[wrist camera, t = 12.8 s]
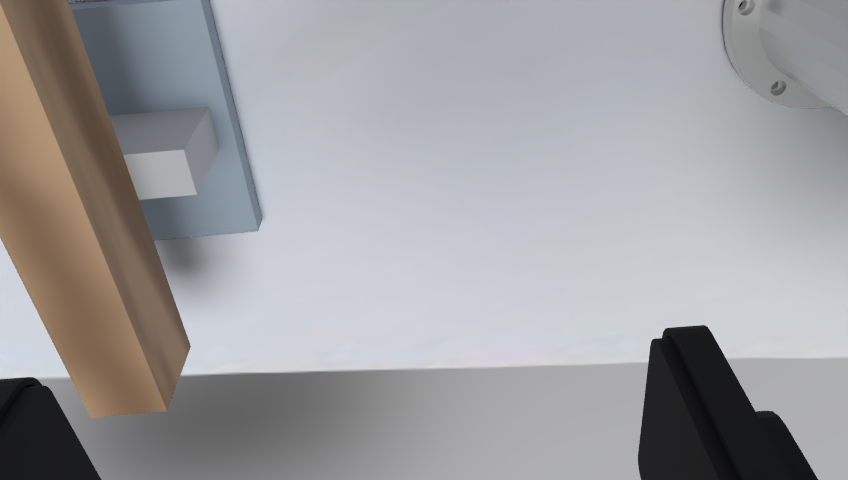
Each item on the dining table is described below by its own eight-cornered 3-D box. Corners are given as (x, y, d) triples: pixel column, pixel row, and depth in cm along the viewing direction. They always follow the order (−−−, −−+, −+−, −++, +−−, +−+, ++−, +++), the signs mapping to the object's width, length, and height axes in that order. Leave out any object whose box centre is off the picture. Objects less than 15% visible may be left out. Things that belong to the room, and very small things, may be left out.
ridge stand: (206, -9, 35) (170, 27, 29) (261, 218, 43) (242, 284, 37) (-21, 11, 35) (-103, 52, 29) (75, 235, 43) (25, 303, 37)
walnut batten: (46, -60, 27) (-16, -36, 23) (190, 346, 39) (167, 411, 35) (-52, -51, 27) (-132, -26, 23) (122, 352, 39) (90, 417, 35)
